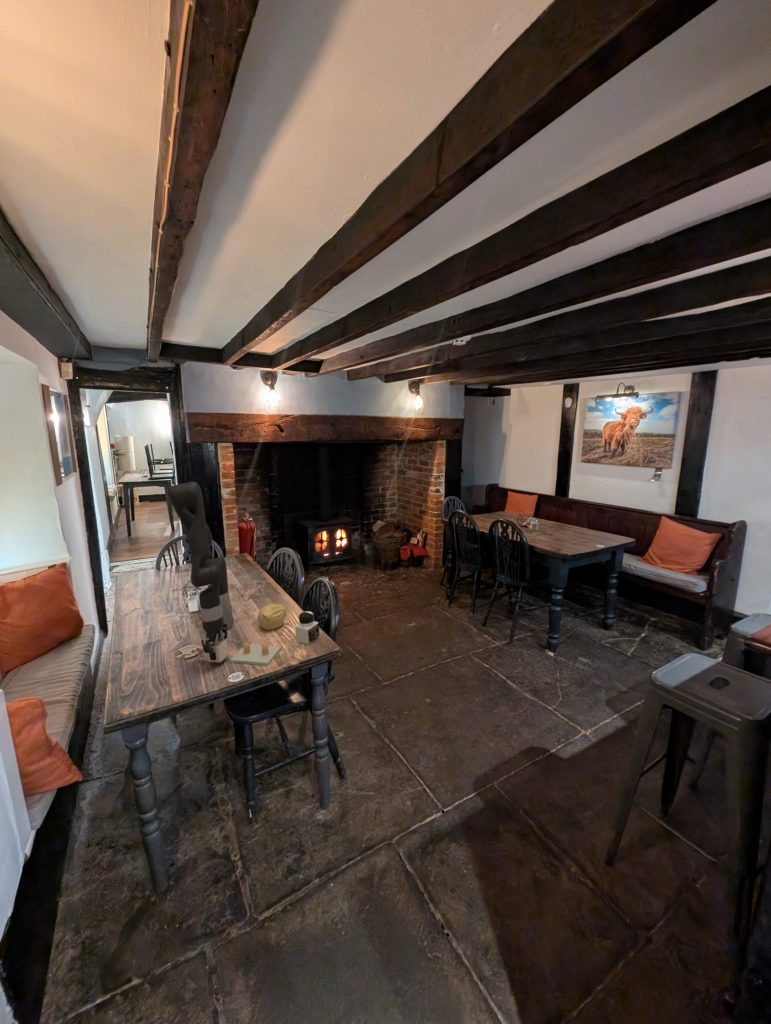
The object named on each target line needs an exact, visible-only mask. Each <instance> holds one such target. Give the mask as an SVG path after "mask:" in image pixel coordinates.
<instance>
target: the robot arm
mask: <svg viewBox="0 0 771 1024" xmlns="http://www.w3.org/2000/svg"><path fill="white" fill-rule="evenodd" d="M167 494H168V499H169V501H170V504H171V506H172V507H173V509H174V511H175V514H176V516H177V517H178V519H179V521H180V523H181V526H182V528H183V532H184V534H185V535H184V536H185V537H186V539H187V540H186V541H187V545H188V548H189V552H190V558H191V567H190V568H191V571H190V582H191V583H192V585H193V586H194V587H196V588H202V587H205V586H208V587H206V588H205V589H203V590H202V591H200V592H199V594H198V599H199V605H200V618H201V624H202V630H203V631H204V632H205V634H206V635H205V638H204V639H201V642H200V643H201V646H202V648H203V652H204V654H207V653H209V655H210V660H213V661H215V660H216V652H215V646H216V645H217V640H222V641H226V640H227V639H228V631H229V630H230V629H232V628H233V627H234V616H233V608H232V607H233V606H232V604H231V600H230V591H229V581H228V567H227V562H226V560H225V558H223V557H215V558H214V557H213V558H211V557H212V550H211V545H212V543H213V535H212V532H211V529H210V527H209V525H208V524H207V521H206V513H205V504H204V498H203V493H202V490H201V487H200V484H198V482H196V481H190V482H189V481H188V482H184V483H179V484H174V485H171V486H170V487H168V488H167ZM191 507H194V509H195V510H194V511H195V513H194V514H195V515H194V514H192V513H191V512H190V511H189V510H188V509H187V508H191ZM211 642H214V643H211ZM211 646H213V648H212V649H211Z"/></svg>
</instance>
